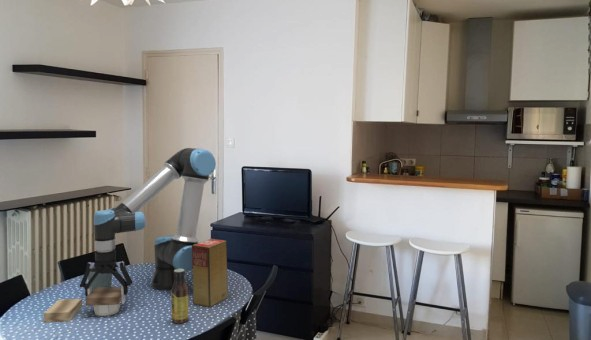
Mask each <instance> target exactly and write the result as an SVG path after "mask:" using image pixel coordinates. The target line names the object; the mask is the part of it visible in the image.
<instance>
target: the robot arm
mask: <svg viewBox="0 0 591 340" xmlns="http://www.w3.org/2000/svg"><path fill="white" fill-rule="evenodd" d="M216 162H217V161H216V159H215V156H214V154H213V153H212V152H211V151H209V150H208V149H204V148H199V147H198V148H192V147H187V148H182V149H180V150H179V151H177V152H175V154H173V155H172V156H171V157H169V158H168V159H167V160H166V161H165V162H164V163H163V166H162V167H161V168H160V169H159V170H158V171H156V172H155V173H154V174H153V175H152V176H151V177H150V178H149V179H147V180H146V181H145V182H144V183H143V184H141V186H140V187H138V188H137V189H135V191H133V192H132V193H131V194H130V195H129V196H127V198H125V199H124V200H123V201H122V202H120V204H118V205H117V206H116V207H111V208H109V209H101V210H98V211H95V213H94V214H93V231H94V250H95V251H94V260H95V261H94V262H91V261H89V262H87V264H86V269H85V271H84V274H83V277H82V279H81V282H80V283H79V288H83V289H84V296H85V297H87V296H88V295H89V294H90V293H91V292H92V287H89V286H90V285H91V283H92V282H93V281H94V279H95V278H96V277H97V275H98V274H99V273H101V274H104V273H107V274H109V273H111V274H112V276H113V277H114V278H115V279H116V280H117V281H118V283H120V285H121V287H122V288H121V296H122V300H121V305H125V303H126V295H127V294H128V293H129V286H131V285H132V284H133V280H132V279H131V277H130V274H129V272H128V269H127V268H126V265H125V261H124V260H122V261H117V260H116V259H117V258H116V257H117V253H116V251H117V250H116V234H123V233H129V232H136V231H141V230H143V229H145V227H146V216H145V214H144V212H143V211H140V210H141V209H143V208H144V207H145V206H146V205H147V204H149V202H150V201H152V200H153V199H154V198H155V197H157V195H158V194H160V193H161V192H162V191H163V190H164V189H165V188H166V187H168V186H169V185H170V184H171V183H172V182H173V181H174V180H179V179H180V178H181V177H182V179H183V180H184V185H183V190H182V196H181V201H180V206H179V208H180V209H179V215H178V220H177V225H176V226H177V227H176V231H175V234H171V235H163V236H158V237H156V238H155V239H154V245H153V246H154V271H153V275H152V278H151V288H152V289H153V290H158V291H169V290H170V291H171V290H172V287H173V284H174V270H176V269H184V270H185V272H190V271H193V268H192V245H195V244H198V243H199V239H198V238H197V237H196V235H197V230H198V229H197V228H198V225H199V224H198V223H199V218H200V210H201V205H202V199H203V194H204V193H203V192H204V188H205V185H206V183H207V182H209V178H210V175H212V174H213V173H214V171H215V169H216ZM93 267H95V268H96V269H97V271H96V272H95V273H94V275H93V276H92V277H91V279H90V280H89V281H88V276H89V273H90V271H91V268H93ZM116 267H118V268H119V269H120V272H121V273H122V274H120V272H119V271H118V269H117V268H116ZM184 279H185V280H186V278H185V276H184ZM87 281H88V282H87ZM86 282H87V283H86Z"/></svg>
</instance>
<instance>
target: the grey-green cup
mask: <svg viewBox="0 0 591 340" xmlns="http://www.w3.org/2000/svg"><path fill="white" fill-rule="evenodd" d="M96 271H97V269H96V268H95V267H94V266H93V268H91V271H90V273H89V276H88V278H87V281H89V280H90V279H91V277H92V276H93V275H94V273H95V272H96ZM112 280H113V275H112V274H111V273H109V274H107V273H104V274H101V273H99V274H98V275H97V277H96V278H95V279H94V281H93V282H92V283H91V285H90V286H89V287H92V291H93V290H94V289H95V288H96V287H112Z"/></svg>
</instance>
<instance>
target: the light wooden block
mask: <svg viewBox="0 0 591 340" xmlns="http://www.w3.org/2000/svg"><path fill="white" fill-rule="evenodd" d="M82 308H83V298H69V299H68V298H65V299H64V298H63V299H62V298H61V299H57V301H56V302H54V303H53V304H52V305H51V306H50V307H49V308H47V309H46V310H45V311H44V312H43V323H57V322H58V323H59V322H60V323H61V322H71V320H72V319H73V318H74V317H75V315H77V313H78V312H79V311H80V310H81V309H82Z"/></svg>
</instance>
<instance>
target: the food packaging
mask: <svg viewBox="0 0 591 340" xmlns="http://www.w3.org/2000/svg"><path fill="white" fill-rule="evenodd" d="M227 244H228V243H227V240H223V239H217V238H216V239H215V238H210V239H206V240H204V241H201V242H198V244H195V245H192V268H193V269H192V290H193V291H192V301H193V302H192V304H193V305H196V306H202V307H207V308H212V307H213V306H215V305H216V304H218V303H220V302H222V301H224V300H226V299H228V298H229V296H228V292H229V291H228V253H227V252H228V248H227Z"/></svg>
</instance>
